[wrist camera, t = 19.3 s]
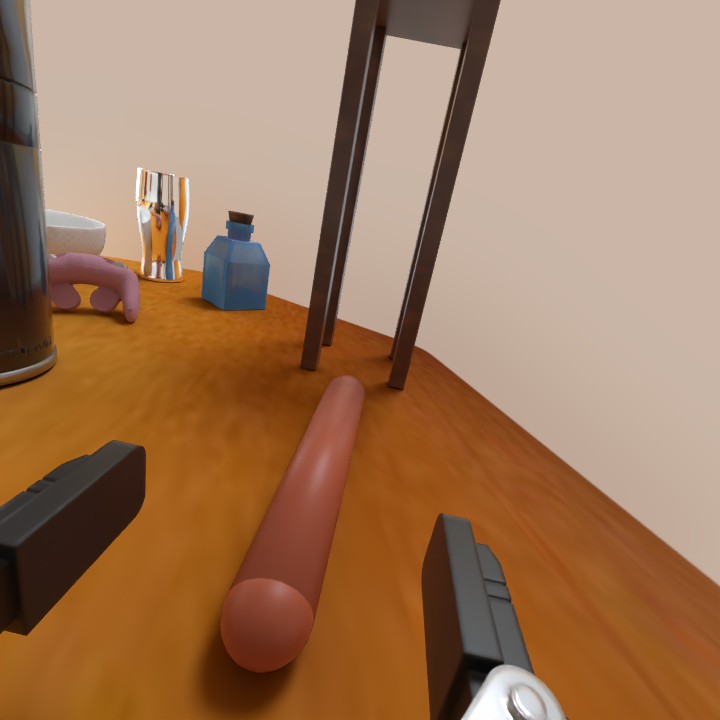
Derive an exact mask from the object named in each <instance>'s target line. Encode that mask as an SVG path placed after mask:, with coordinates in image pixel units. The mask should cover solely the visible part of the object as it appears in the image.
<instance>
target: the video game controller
mask: <svg viewBox="0 0 720 720" xmlns="http://www.w3.org/2000/svg"><path fill="white" fill-rule="evenodd" d="M48 257H49V271H50V285H51V299H52V301H53V303H54V304H55V305H56V306H57V307H58V308H60V309H62V310H73V309H76V308H77V307H78V306H79V305H80V303H81V298H80V296H79V294H78V292H77V291H76V290H75V289H74V288H73V284H90V285H95V286H99V288H97V289H96V290H95V291H94V292H93V293H92V294H91V297H90V303H91V305H92V306H93V307H94V308H95V309H96V310H97V311H99V312H101V313H109V312H112V311H113V310H114V309H115V308H116V307H117V305H118V304H119V302H120V301H122V303H123V310H124V314H125V317H126V319H127V321H128V322H133V321H134V320H135V319H136V318H137V315H138V311H139V304H140V288H139V280H138V277H137V275H136V274H135V273H134V272H133V271H132V270H131V269H130V268H128V267H127V266H125V265H124V264H123V263H122V262H115V261H112V260H109V259H106V258H104V257H102V256H97V255H91V254H83V253H72V252H68V253H65V254H55V255H54V254H48Z"/></svg>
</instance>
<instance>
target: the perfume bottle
mask: <svg viewBox="0 0 720 720" xmlns="http://www.w3.org/2000/svg"><path fill="white" fill-rule="evenodd" d="M229 219H230V221H226V228H227V229H228V237H226V236H217V237H216V238H215V239H214V241H213V242H212V243H211V245H210V246H209V247H208V248H207V250H206V251H205V252H204V268H203V285H202V298H203V299H205V300H207V301H208V302H210V303H212V304H213V305H215V306H217V307H219V308H220V309H222V310H259V309H265V304H266V295H267V286H268V277H269V268H270V264H269V262H268V260H267V258H266V255H265V253H264V251H263V249H262V247H261V245H260V244H259V243H256V242H253V241H250V238H251V233H253V230H254V225H251V223H252V219H253V215H249V214H245V213H239V212H233V211H229Z"/></svg>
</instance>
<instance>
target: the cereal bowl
mask: <svg viewBox="0 0 720 720" xmlns="http://www.w3.org/2000/svg"><path fill="white" fill-rule="evenodd" d="M45 215H46V229H47V243H48V254H54V255H55V254H65V253H68V252H72V253H83V254H91V255H97V256H99V255H100V253H101V252H102V250H103V248H104V244H105V238H106V226H105V225H104V224H103V223H101V222H99V221H96V220H93V219H90V218H86V217H82V216H79V215H74V214H70V213H65V212H60V211H55V210H48V209H45Z"/></svg>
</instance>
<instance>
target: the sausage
mask: <svg viewBox="0 0 720 720" xmlns="http://www.w3.org/2000/svg"><path fill="white" fill-rule="evenodd" d="M364 398H365V393H364V388H363V386H362V384H361V383H360V382H359V381H358V380H357V379H356V378H354V377H352V376H347V375H343V376H339V377H336V378H334V379H333V380H332V381H331V382H330V383H329V384H328V386H327V388H326V390H325V392H324V394H323V396H322V398H321V401H320V403H319V405H318V407H317V409H316V411H315V413H314V415H313V417H312V419H311V421H310V423H309V426H308V428H307V430H306V432H305V434H304V436H303V438H302V440H301V442H300V444H299V446H298V448H297V450H296V453H295V455H294V457H293V459H292V461H291V463H290V465H289V467H288V469H287V471H286V473H285V475H284V478H283V480H282V482H281V484H280V486H279V488H278V490H277V492H276V494H275V496H274V498H273V500H272V502H271V505H270V507H269V509H268V511H267V513H266V515H265V517H264V519H263V521H262V523H261V525H260V527H259V530H258V532H257V534H256V536H255V538H254V540H253V542H252V544H251V546H250V548H249V550H248V552H247V555H246V557H245V559H244V561H243V563H242V565H241V567H240V569H239V571H238V573H237V575H236V577H235V579H234V582H233V584H232V586H231V588H230V590H229V592H228V594H227V596H226V599H225V602H224V604H223V607H222V613H221V620H220V626H221V637H222V640H223V643H224V646H225V648H226V650H227V652H228V654H229V655H230V656H231V658H232V659H233V660H234V661H235V662H236V663H237V664H238V665H240V666H241V667H243V668H245V669H247V670H250V671H253V672H270V671H273V670H277V669H280V668H281V667H283V666H285V665H286V664H288V663H289V662H291V661H292V660H293V659H294V658H295V657H296V656H297V655H298V654H299V653H300V652H301V651H302V649H303V647H304V646H305V644H306V642H307V640H308V639H309V636H310V633H311V631H312V628H313V624H314V619H315V615H316V611H317V606H318V602H319V597H320V593H321V588H322V584H323V580H324V575H325V571H326V566H327V562H328V558H329V553H330V549H331V544H332V540H333V535H334V531H335V527H336V522H337V518H338V513H339V509H340V504H341V500H342V496H343V491H344V487H345V482H346V478H347V473H348V469H349V465H350V460H351V456H352V451H353V447H354V443H355V438H356V434H357V429H358V425H359V420H360V416H361V412H362V407H363V403H364Z"/></svg>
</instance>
